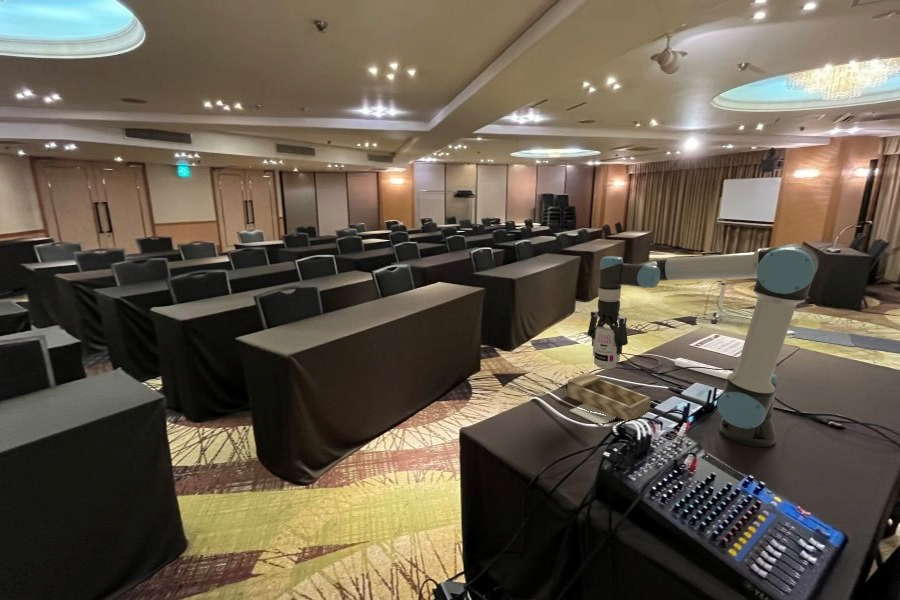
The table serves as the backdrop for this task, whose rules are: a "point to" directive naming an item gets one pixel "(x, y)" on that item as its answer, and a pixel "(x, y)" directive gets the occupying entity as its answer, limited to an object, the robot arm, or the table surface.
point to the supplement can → (604, 347)
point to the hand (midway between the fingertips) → (605, 358)
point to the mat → (591, 416)
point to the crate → (580, 392)
